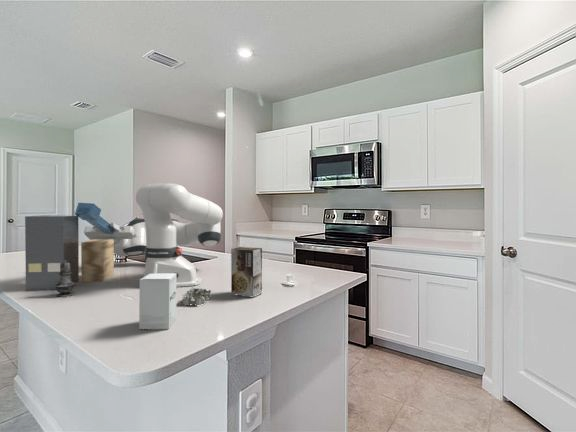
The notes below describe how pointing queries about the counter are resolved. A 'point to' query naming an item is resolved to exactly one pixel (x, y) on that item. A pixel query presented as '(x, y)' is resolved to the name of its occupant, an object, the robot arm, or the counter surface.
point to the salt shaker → (65, 281)
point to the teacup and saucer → (290, 279)
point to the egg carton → (196, 296)
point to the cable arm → (93, 217)
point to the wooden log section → (97, 260)
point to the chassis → (50, 250)
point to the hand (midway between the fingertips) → (104, 224)
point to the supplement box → (157, 301)
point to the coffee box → (246, 271)
